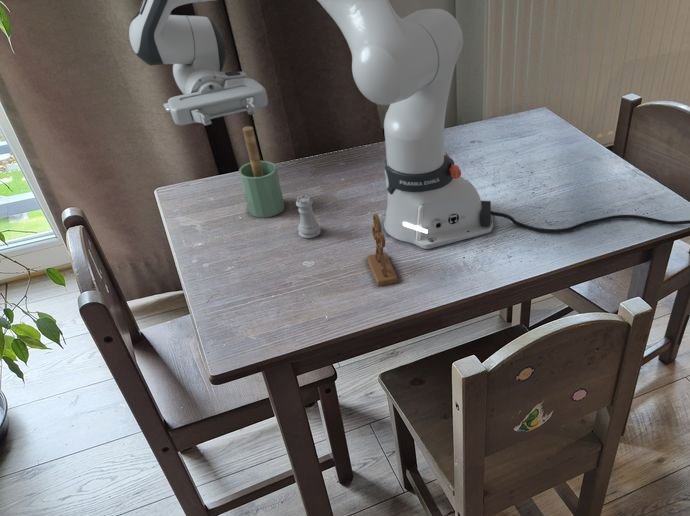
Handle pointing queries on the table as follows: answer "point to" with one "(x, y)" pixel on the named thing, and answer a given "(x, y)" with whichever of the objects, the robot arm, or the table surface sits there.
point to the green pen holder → (262, 190)
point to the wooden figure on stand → (380, 258)
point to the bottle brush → (253, 151)
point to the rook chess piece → (307, 218)
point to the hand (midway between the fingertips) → (230, 116)
